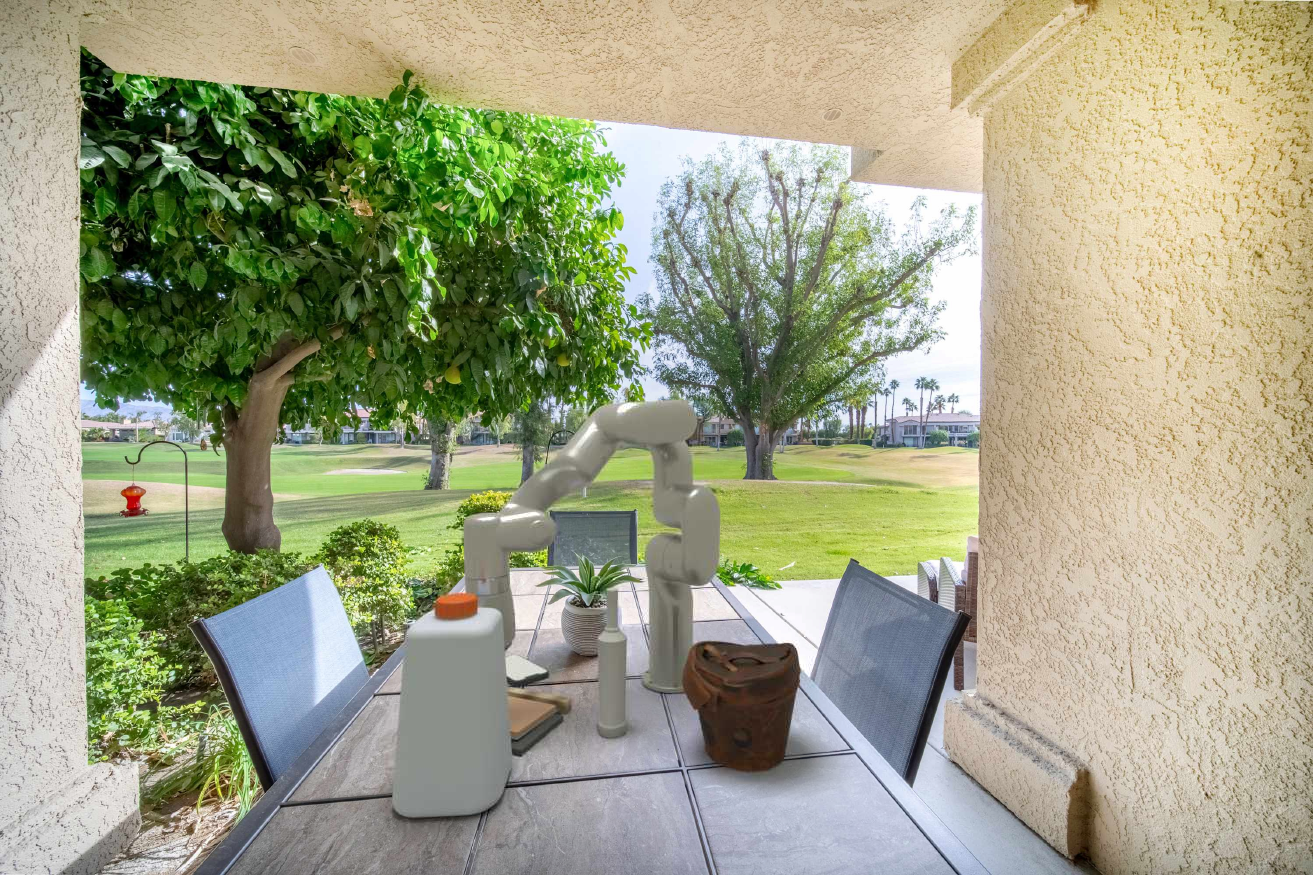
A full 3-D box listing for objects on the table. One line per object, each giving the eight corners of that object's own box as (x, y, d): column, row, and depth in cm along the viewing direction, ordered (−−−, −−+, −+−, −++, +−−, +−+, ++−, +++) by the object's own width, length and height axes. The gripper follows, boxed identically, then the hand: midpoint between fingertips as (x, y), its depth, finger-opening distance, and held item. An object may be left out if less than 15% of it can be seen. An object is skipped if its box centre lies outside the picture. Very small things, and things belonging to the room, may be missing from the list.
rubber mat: (563, 720, 105) (563, 715, 105) (521, 756, 93) (521, 750, 93) (484, 704, 112) (484, 699, 112) (435, 735, 100) (435, 729, 100)
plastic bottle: (420, 762, 91) (421, 586, 92) (516, 758, 92) (516, 584, 93) (382, 824, 76) (383, 613, 77) (497, 818, 77) (497, 610, 78)
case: (664, 736, 99) (665, 632, 99) (763, 716, 106) (764, 620, 106) (712, 796, 82) (713, 672, 82) (825, 768, 90) (826, 654, 90)
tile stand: (571, 709, 109) (571, 698, 109) (561, 717, 106) (561, 705, 106) (502, 696, 115) (502, 685, 115) (491, 703, 112) (491, 691, 112)
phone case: (481, 669, 131) (514, 690, 119) (481, 662, 131) (514, 682, 119) (516, 659, 137) (551, 678, 125) (516, 653, 137) (551, 671, 125)
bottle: (631, 726, 102) (631, 586, 103) (620, 740, 98) (620, 593, 98) (604, 722, 104) (604, 584, 105) (592, 735, 99) (592, 591, 100)
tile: (495, 693, 112) (451, 717, 100) (556, 705, 106) (517, 732, 95) (494, 699, 111) (451, 724, 100) (556, 711, 106) (517, 739, 95)
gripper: (497, 573, 107) (501, 670, 107) (439, 595, 94) (443, 706, 94) (531, 576, 105) (534, 675, 105) (476, 598, 91) (480, 713, 91)
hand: (491, 689), depth 99 cm, fingers closed
